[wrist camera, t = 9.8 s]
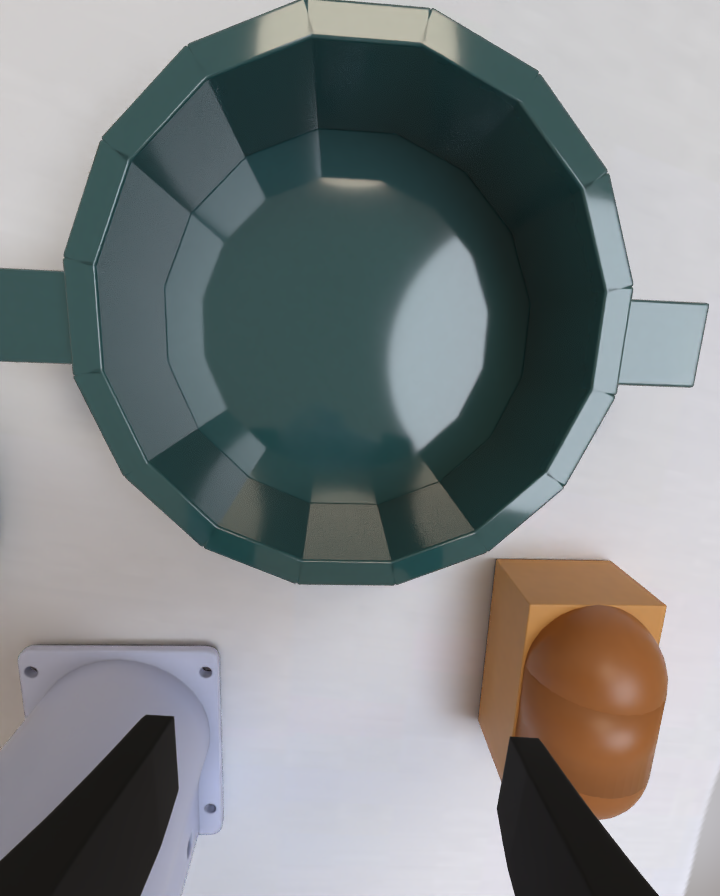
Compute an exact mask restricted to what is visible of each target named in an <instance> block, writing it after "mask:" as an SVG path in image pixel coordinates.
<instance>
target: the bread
mask: <svg viewBox="0 0 720 896" xmlns="http://www.w3.org/2000/svg"><path fill="white" fill-rule="evenodd" d="M665 612H666V605H665V604H664V603H662V602H661V601H660V600H659V599H657V598H656V597H655V596H654V595H653V594H651V593H650V592H649V591H648V590H646V589H645V588H644V587H643V586H641V585H640V584H639V583H638V582H636V581H635V580H634V579H633V578H631V577H630V576H629V575H628V574H626V573H625V572H624V571H623V570H621V569H620V568H619V567H618V566H616V565H615V564H614V563H613V562H611V561H597V560H529V559H496V566H495V574H494V583H493V592H492V601H491V610H490V619H489V628H488V637H487V646H486V655H485V664H484V672H483V681H482V690H481V699H480V708H479V717H478V721H479V724H480V727H481V729H482V732H483V734H484V737H485V740H486V742H487V745H488V748H489V750H490V753H491V756H492V758H493V761H494V763H495V766H496V769H497V771H498V774H499V777H500V779H501V782H502V777H503V772H504V766H505V760H506V755H507V749H508V744H509V738H510V736H512V737H528V738H539V739H540V741H541V742H542V743H543V744H544V746H545V747H546V749H547V750H548V751H549V753H550V754H551V756H552V757H553V758H554V760H555V761H556V763H557V764H558V765H559V767H560V768H561V770H562V771H563V772H564V774H565V775H566V777H567V778H568V779H569V781H570V782H571V784H572V785H573V786H574V788H575V789H576V790H577V792H578V793H579V795H580V796H581V797H582V799H583V800H584V801H585V803H586V804H587V805H588V807H589V808H590V809H591V811H592V812H593V813H594V815H595V816H596V817H597V819H598V820H600V819H608V818H612V817H615V816H617V815H620V814H622V813H624V812H625V811H627V810H628V809H630V808H631V807H632V806H633V805H634V804H635V803H636V802H637V801H638V800H639V798H640V797H641V795H642V794H643V792H644V790H645V788H646V785H647V783H648V780H649V776H650V772H651V767H652V762H653V758H654V753H655V748H656V743H657V739H658V734H659V729H660V724H661V720H662V715H663V710H664V705H665V701H666V696H667V684H668V676H667V671H666V665H665V661H664V657H663V655H662V653H661V650H660V648H659V642H660V637H661V632H662V627H663V622H664V617H665Z"/></svg>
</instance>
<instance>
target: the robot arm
mask: <svg viewBox="0 0 720 896" xmlns="http://www.w3.org/2000/svg"><path fill="white" fill-rule="evenodd" d="M18 667H19V674H20V682H21V690H22V697H23V705H24V713H25V720H24V722H23V723H22V724H21V725H20V727H19V728H18V729H17V730H16V732H15V733H14V734H13V735H12V736H11V738H10V739H9V740H8V741H7V743H6V744H5V745H4V746H3V748H2V749H1V750H0V896H182V892H183V888H184V885H185V881H186V877H187V874H188V870H189V866H190V863H191V859H192V855H193V852H194V848H195V845H196V841H197V837H198V835H211V834H216V833H218V832H219V831H220V830H221V829H222V824H223V820H224V810H223V771H222V731H221V692H220V656H219V652H218V651H217V650H216V649H215V648H213V647H210V646H99V645H32V646H28V647H27V648H25V649H24V650H23V651H22V652H21V653H20V654H19V656H18ZM31 667H34V668H36V669H37V671H34V670H33V669H31ZM202 667H209V668H210V669H211V670H212V671H209V672H208V671H205V670H203V668H202ZM209 804H213V805H209ZM497 812H498V818H499V824H500V829H501V835H502V841H503V846H504V851H505V857H506V862H507V867H508V871H509V875H510V879H511V882H512V886H513V890H514V893H515V896H659V895H658V894H657V893H656V892H655V890H654V889H653V888H652V887H651V886H650V884H649V883H648V882H647V881H646V880H645V879H644V877H643V876H642V875H641V874H640V872H639V871H638V870H637V869H636V867H635V866H634V865H633V864H632V862H631V861H630V860H629V859H628V857H627V856H626V855H625V854H624V852H623V851H622V850H621V848H620V847H619V846H618V845H617V843H616V842H615V841H614V839H613V838H612V837H611V836H610V834H609V833H608V832H607V830H606V829H605V828H604V827H603V825H602V824H601V823H600V821H599V820H598V819H597V817H596V816H595V815H594V813H593V812H592V811H591V809H590V808H589V807H588V805H587V804H586V803H585V801H584V800H583V799H582V797H581V796H580V795H579V793H578V792H577V790H576V789H575V788H574V786H573V785H572V784H571V782H570V781H569V779H568V778H567V777H566V775H565V774H564V772H563V771H562V770H561V768H560V767H559V765H558V764H557V763H556V761H555V760H554V758H553V757H552V756H551V754H550V753H549V751H548V750H547V749H546V747H545V746H544V744H543V743H542V742H541V741H540V739H539V738H528V737H512V736H510V738H509V744H508V749H507V755H506V760H505V766H504V772H503V777H502V783H501V788H500V794H499V799H498V805H497Z"/></svg>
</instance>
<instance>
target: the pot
mask: <svg viewBox="0 0 720 896" xmlns="http://www.w3.org/2000/svg"><path fill="white" fill-rule="evenodd" d="M538 73H539V71H538V70H536V69H535V68H533V67H531V66H530V65H528V64H526V63H524V62H523V61H521V60H519V59H518V58H516V57H514V56H513V55H511V54H509V53H508V52H506V51H504V50H503V49H501V48H499V47H498V46H496V45H494V44H493V43H491V42H489V41H488V40H486V39H484V38H483V37H481V36H479V35H477V34H476V33H474V32H472V31H471V30H469V29H467V28H466V27H464V26H462V25H461V24H459V23H457V22H456V21H454V20H452V19H451V18H449V17H447V16H446V15H444V14H442V13H441V12H439V11H437V10H436V9H434V8H432V9H430V8H426V7H414V6H402V5H391V4H379V3H367V2H355V1H343V0H296V1H294V2H291V3H289V4H286V5H284V6H281V7H279V8H276V9H274V10H271V11H269V12H266V13H264V14H261V15H259V16H256V17H254V18H251V19H249V20H246V21H244V22H241V23H239V24H236V25H234V26H231V27H229V28H226V29H224V30H221V31H219V32H216V33H214V34H211V35H209V36H206V37H204V38H201V39H199V40H196V41H194V42H191V43H189V44H188V47H187V46H184V47H183V49H182V50H181V51H180V52H179V53H178V54H177V55H176V56H175V57H174V58H173V60H172V61H171V62H170V63H169V64H168V65H167V66H166V67H165V68H164V69H163V71H162V72H161V73H160V74H159V75H158V76H157V77H156V78H155V79H154V80H153V82H152V83H151V84H150V85H149V86H148V87H147V88H146V89H145V90H144V91H143V93H142V94H141V95H140V96H139V97H138V98H137V99H136V100H135V101H134V102H133V104H132V105H131V106H130V107H129V108H128V109H127V110H126V111H125V112H124V113H123V114H122V116H121V117H120V118H119V119H118V120H117V121H116V122H115V123H114V124H113V125H112V127H111V128H110V129H109V130H108V131H107V132H106V133H105V134H104V135H103V136H102V140H101V141H100V143H99V146H98V149H97V152H96V155H95V158H94V161H93V164H92V168H91V171H90V174H89V177H88V180H87V183H86V186H85V189H84V192H83V195H82V199H81V202H80V205H79V208H78V211H77V214H76V217H75V220H74V223H73V226H72V230H71V233H70V236H69V239H68V242H67V245H66V248H65V251H64V257H65V258H64V259H63V266H64V271H52V270H32V269H12V268H0V361H2V362H28V363H54V364H72V368H73V374H74V375H75V376H74V379H75V381H76V383H77V385H78V387H79V389H80V391H81V393H82V395H83V397H84V399H85V401H86V403H87V405H88V407H89V409H90V411H91V413H92V415H93V417H94V419H95V421H96V423H97V425H98V427H99V429H100V431H101V433H102V435H103V437H104V439H105V441H106V443H107V445H108V447H109V449H110V451H111V453H112V455H113V457H114V458H115V460H116V462H117V464H118V466H119V468H120V470H121V472H122V474H123V476H125V477H126V479H127V480H128V481H130V482H131V483H132V484H133V485H134V486H135V487H136V488H137V489H138V490H139V491H141V492H142V493H143V494H144V495H145V496H146V497H147V498H148V499H149V500H151V501H152V502H153V503H154V504H155V505H156V506H157V507H158V508H159V509H161V510H162V511H163V512H164V513H165V514H166V515H167V516H168V517H169V518H170V519H172V520H173V521H174V522H175V523H176V524H177V525H178V526H179V527H180V528H182V529H183V530H184V531H185V532H186V533H187V534H188V535H189V536H190V537H192V538H193V539H194V540H195V541H196V542H197V543H198V544H199V545H200V546H204V548H205V549H208V550H210V551H213V552H215V553H218V554H220V555H223V556H225V557H228V558H231V559H233V560H236V561H238V562H241V563H243V564H246V565H249V566H251V567H254V568H256V569H259V570H261V571H264V572H267V573H269V574H272V575H274V576H277V577H279V578H282V579H284V580H287V581H290V582H292V583H298V584H304V585H389V586H393V585H395V584H396V585H398V584H401V583H404V582H407V581H409V580H412V579H415V578H418V577H420V576H423V575H426V574H429V573H432V572H434V571H437V570H440V569H443V568H445V567H448V566H451V565H454V564H457V563H459V562H462V561H465V560H468V559H470V558H473V557H476V556H479V555H482V554H484V553H486V552H487V551H490V550H491V549H492V548H494V547H495V546H496V545H497V544H498V543H500V542H501V541H502V540H503V539H504V538H505V537H507V536H508V535H509V534H510V533H511V532H513V531H514V530H515V529H516V528H517V527H519V526H520V525H521V524H522V523H523V522H524V521H526V520H527V519H528V518H529V517H530V516H532V515H533V514H534V513H535V512H536V511H537V510H539V509H540V508H541V507H542V506H543V505H545V504H546V503H547V502H548V501H549V500H551V499H552V498H553V497H554V496H555V495H556V494H558V493H559V492H560V491H561V490H562V489H563V488H564V487H563V486H565V485H566V484H567V482H568V480H569V478H570V477H571V475H572V473H573V471H574V470H575V468H576V466H577V464H578V463H579V461H580V459H581V457H582V455H583V454H584V452H585V450H586V448H587V447H588V445H589V443H590V441H591V440H592V438H593V436H594V434H595V433H596V431H597V429H598V427H599V426H600V424H601V422H602V420H603V418H604V417H605V415H606V413H607V411H608V410H609V408H610V406H611V404H612V403H613V401H614V399H615V396H614V395H616V393H617V388H618V385H633V386H659V387H685V388H690V387H693V385H694V381H695V375H696V370H697V365H698V360H699V355H700V349H701V344H702V339H703V334H704V329H705V324H706V318H707V313H708V308H709V304H707V303H699V302H679V301H659V300H639V299H632V294H633V288H632V286H633V280H632V275H631V271H630V266H629V262H628V257H627V253H626V248H625V243H624V239H623V234H622V230H621V225H620V220H619V216H618V211H617V207H616V202H615V198H614V193H613V188H612V184H611V179H610V175H609V174H608V173H607V172H608V171H607V169H606V167H605V166H604V164H603V163H602V161H601V160H600V159H599V157H598V156H597V154H596V153H595V151H594V150H593V149H592V147H591V146H590V144H589V143H588V141H587V140H586V139H585V137H584V136H583V134H582V133H581V131H580V130H579V128H578V127H577V126H576V124H575V123H574V121H573V120H572V118H571V117H570V116H569V114H568V113H567V111H566V110H565V108H564V107H563V106H562V104H561V103H560V101H559V100H558V98H557V97H556V96H555V94H554V93H553V91H552V90H551V88H550V87H549V85H548V84H547V83H546V81H545V80H544V78H543V77H542V75H541V74H538Z"/></svg>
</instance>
